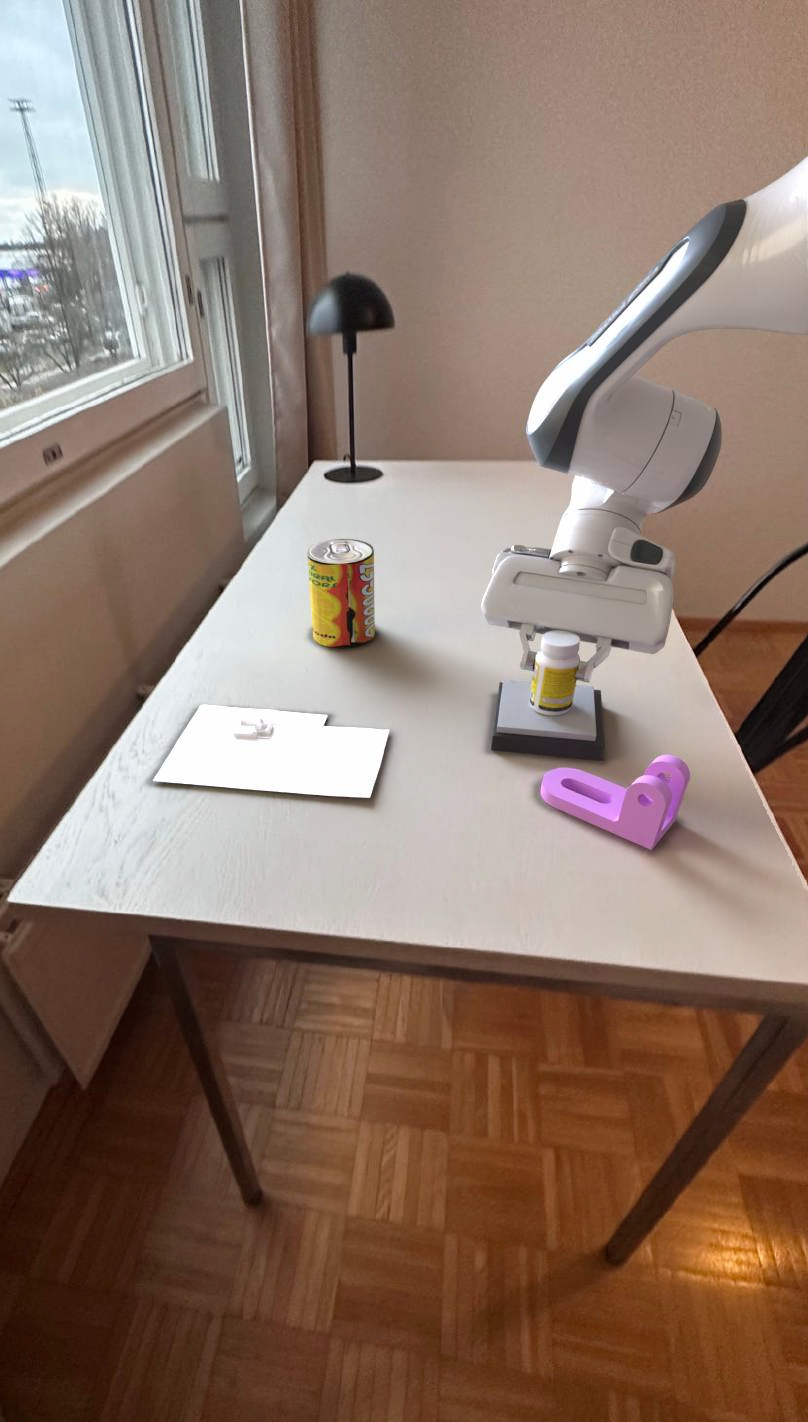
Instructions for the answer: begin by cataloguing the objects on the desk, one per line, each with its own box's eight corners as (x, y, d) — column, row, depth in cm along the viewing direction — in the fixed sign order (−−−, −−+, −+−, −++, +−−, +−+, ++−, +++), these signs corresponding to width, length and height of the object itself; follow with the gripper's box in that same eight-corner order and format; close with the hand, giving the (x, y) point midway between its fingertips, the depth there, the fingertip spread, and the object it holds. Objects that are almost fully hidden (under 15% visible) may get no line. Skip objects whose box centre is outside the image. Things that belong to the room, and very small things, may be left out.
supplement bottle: (580, 708, 83) (593, 640, 78) (549, 721, 82) (561, 652, 76) (550, 690, 87) (561, 624, 81) (520, 703, 85) (529, 635, 79)
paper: (149, 788, 80) (147, 780, 79) (195, 705, 92) (193, 697, 92) (377, 801, 76) (377, 793, 76) (392, 713, 89) (392, 706, 88)
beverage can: (318, 651, 102) (313, 566, 94) (308, 624, 109) (302, 542, 101) (381, 643, 103) (380, 559, 96) (367, 616, 110) (365, 535, 102)
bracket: (675, 820, 72) (695, 763, 68) (651, 850, 69) (670, 792, 65) (557, 771, 79) (567, 716, 75) (530, 796, 76) (539, 741, 72)
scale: (597, 704, 89) (602, 683, 87) (601, 760, 80) (606, 739, 79) (497, 696, 91) (500, 676, 90) (490, 750, 83) (493, 729, 81)
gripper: (496, 529, 82) (459, 647, 82) (690, 554, 74) (649, 684, 74) (505, 555, 88) (470, 665, 88) (686, 581, 80) (647, 701, 80)
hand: (554, 674), depth 81 cm, fingers closed on supplement bottle, 5 cm apart
